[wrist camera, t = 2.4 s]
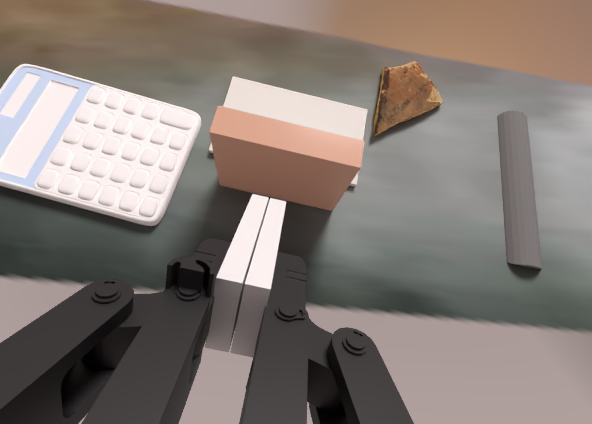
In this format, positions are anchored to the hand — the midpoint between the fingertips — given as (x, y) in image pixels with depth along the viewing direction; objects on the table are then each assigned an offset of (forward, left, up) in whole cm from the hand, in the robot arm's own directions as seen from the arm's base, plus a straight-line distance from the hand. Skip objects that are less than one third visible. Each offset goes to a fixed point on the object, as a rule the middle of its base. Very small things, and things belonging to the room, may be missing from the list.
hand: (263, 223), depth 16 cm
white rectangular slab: (0, -17, -18) cm, 25 cm away
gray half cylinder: (-27, -17, -19) cm, 37 cm away
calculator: (+20, -10, -19) cm, 29 cm away
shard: (-13, -25, -19) cm, 34 cm away
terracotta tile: (0, -10, -18) cm, 21 cm away
